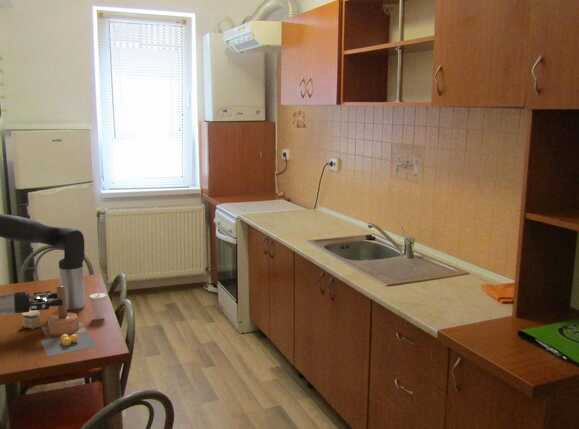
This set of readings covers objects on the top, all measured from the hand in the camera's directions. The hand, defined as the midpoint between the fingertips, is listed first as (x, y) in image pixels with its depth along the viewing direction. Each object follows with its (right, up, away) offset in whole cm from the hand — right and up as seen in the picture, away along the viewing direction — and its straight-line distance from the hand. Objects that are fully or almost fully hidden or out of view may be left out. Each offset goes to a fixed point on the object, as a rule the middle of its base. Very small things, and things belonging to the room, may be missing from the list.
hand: (63, 298), depth 206 cm
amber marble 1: (+5, -12, -11) cm, 17 cm away
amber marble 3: (+8, -12, -11) cm, 18 cm away
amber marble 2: (+7, -13, -13) cm, 20 cm away
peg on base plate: (-1, -12, +2) cm, 12 cm away
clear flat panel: (0, -12, +2) cm, 12 cm away
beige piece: (-14, -12, +7) cm, 20 cm away
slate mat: (+6, -15, -11) cm, 19 cm away
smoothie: (+8, -10, +14) cm, 20 cm away
